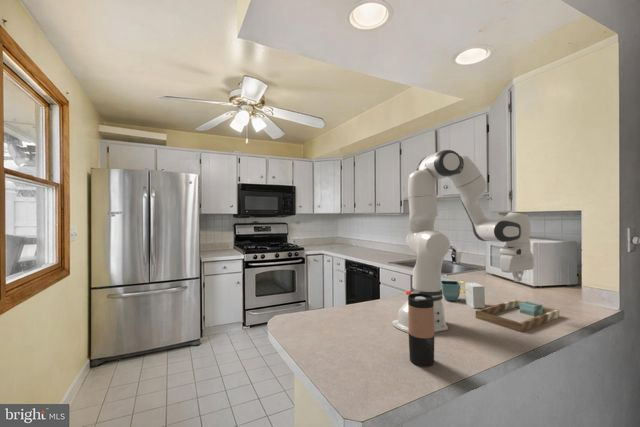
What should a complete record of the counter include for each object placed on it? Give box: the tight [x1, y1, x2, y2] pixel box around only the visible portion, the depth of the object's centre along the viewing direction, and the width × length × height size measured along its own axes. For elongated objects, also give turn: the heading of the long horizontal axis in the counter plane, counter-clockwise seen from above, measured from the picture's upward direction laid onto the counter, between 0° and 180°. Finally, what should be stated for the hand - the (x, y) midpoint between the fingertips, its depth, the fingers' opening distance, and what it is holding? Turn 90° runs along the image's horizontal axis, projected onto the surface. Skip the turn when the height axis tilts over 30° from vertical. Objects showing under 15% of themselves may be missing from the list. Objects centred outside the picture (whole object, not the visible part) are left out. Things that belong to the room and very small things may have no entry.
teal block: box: [519, 301, 543, 318], centre depth 131 cm, size 6×6×4 cm
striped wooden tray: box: [475, 299, 560, 333], centre depth 126 cm, size 31×18×3 cm, turn 119°
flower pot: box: [441, 280, 461, 302], centre depth 153 cm, size 9×9×9 cm
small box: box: [464, 282, 486, 309], centre depth 142 cm, size 8×6×10 cm
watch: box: [459, 280, 466, 293], centre depth 168 cm, size 6×3×6 cm, turn 20°
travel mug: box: [407, 293, 435, 368], centre depth 90 cm, size 8×8×20 cm
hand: (517, 281), depth 127 cm, fingers closed
